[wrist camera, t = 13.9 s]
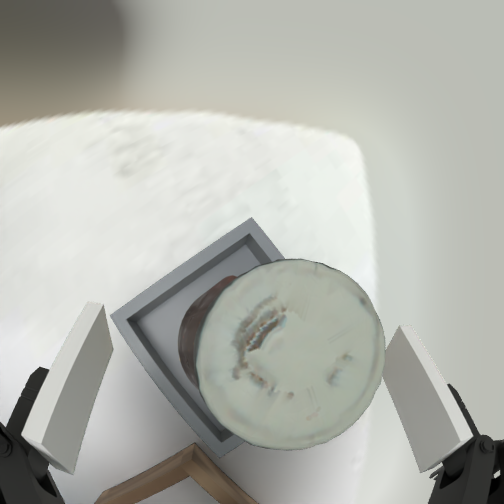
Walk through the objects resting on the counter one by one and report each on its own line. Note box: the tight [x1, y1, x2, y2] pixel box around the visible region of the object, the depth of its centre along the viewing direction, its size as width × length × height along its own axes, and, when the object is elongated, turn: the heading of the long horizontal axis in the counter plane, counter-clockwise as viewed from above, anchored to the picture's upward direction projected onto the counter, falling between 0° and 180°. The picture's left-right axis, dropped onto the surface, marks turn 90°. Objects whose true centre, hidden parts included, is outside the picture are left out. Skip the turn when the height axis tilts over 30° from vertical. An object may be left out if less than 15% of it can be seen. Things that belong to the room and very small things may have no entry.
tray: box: [110, 217, 285, 458], centre depth 23 cm, size 14×14×4 cm
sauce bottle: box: [178, 259, 385, 450], centre depth 15 cm, size 6×6×20 cm
